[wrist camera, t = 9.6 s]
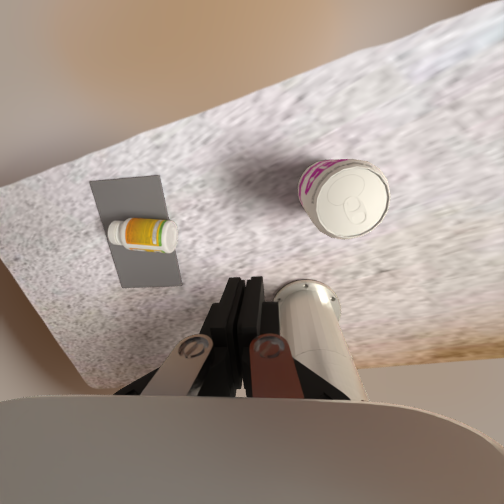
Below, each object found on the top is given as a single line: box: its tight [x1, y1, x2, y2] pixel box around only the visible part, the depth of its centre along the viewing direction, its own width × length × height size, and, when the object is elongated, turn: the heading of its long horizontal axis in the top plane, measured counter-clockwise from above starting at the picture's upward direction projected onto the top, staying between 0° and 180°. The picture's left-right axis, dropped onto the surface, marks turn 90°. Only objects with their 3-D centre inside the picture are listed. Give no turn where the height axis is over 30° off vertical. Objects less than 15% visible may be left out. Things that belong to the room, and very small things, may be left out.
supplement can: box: [298, 159, 391, 240], centre depth 31 cm, size 8×8×15 cm
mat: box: [90, 175, 182, 288], centre depth 43 cm, size 20×12×1 cm, turn 5°
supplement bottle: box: [108, 218, 178, 253], centre depth 40 cm, size 5×5×10 cm
